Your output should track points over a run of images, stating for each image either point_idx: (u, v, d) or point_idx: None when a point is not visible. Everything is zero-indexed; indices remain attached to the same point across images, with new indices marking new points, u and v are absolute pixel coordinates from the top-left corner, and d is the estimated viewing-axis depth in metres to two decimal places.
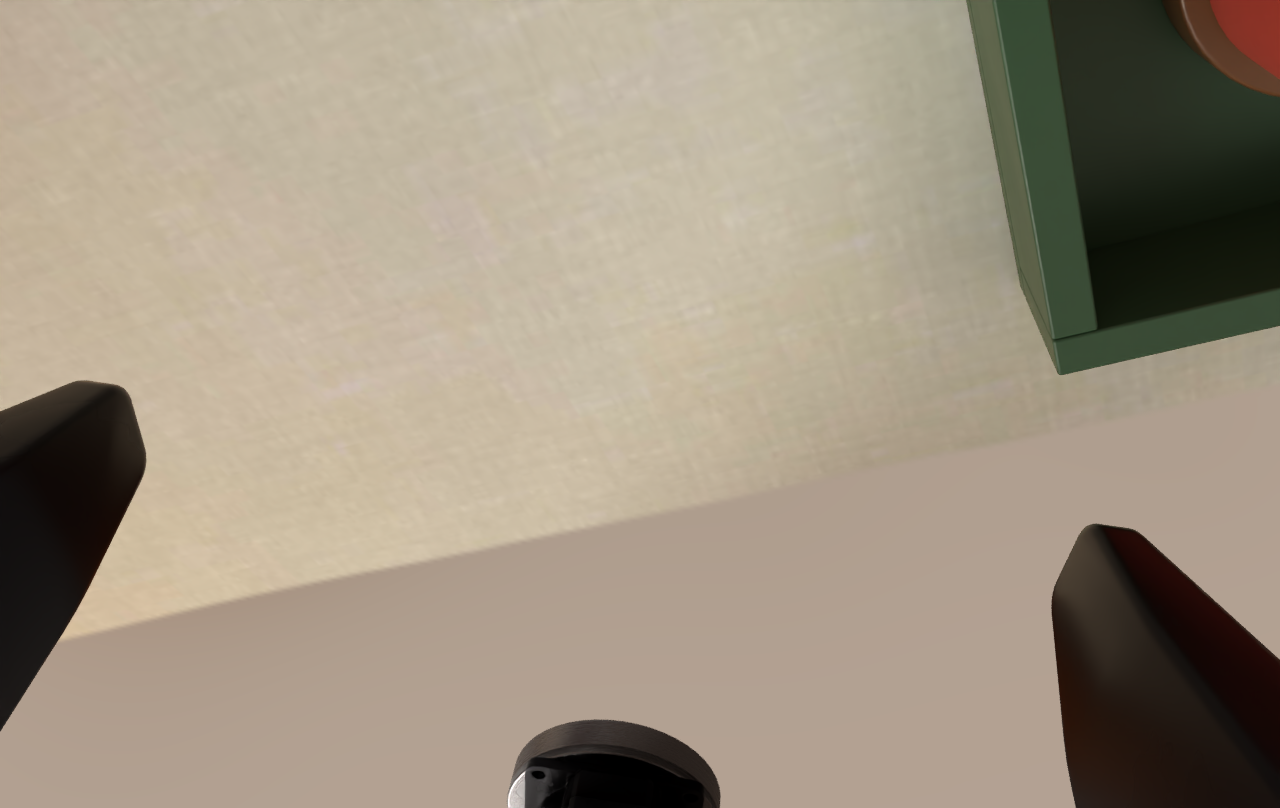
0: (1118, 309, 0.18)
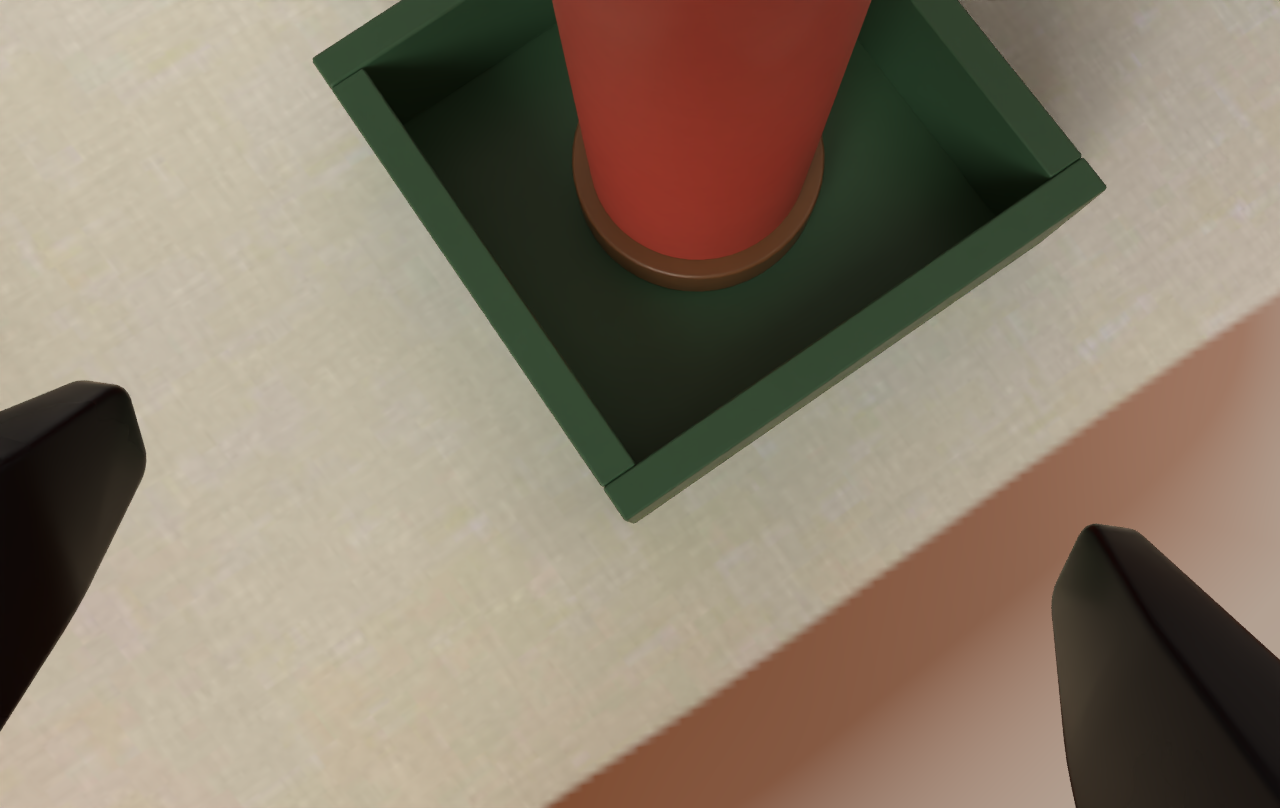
0: None
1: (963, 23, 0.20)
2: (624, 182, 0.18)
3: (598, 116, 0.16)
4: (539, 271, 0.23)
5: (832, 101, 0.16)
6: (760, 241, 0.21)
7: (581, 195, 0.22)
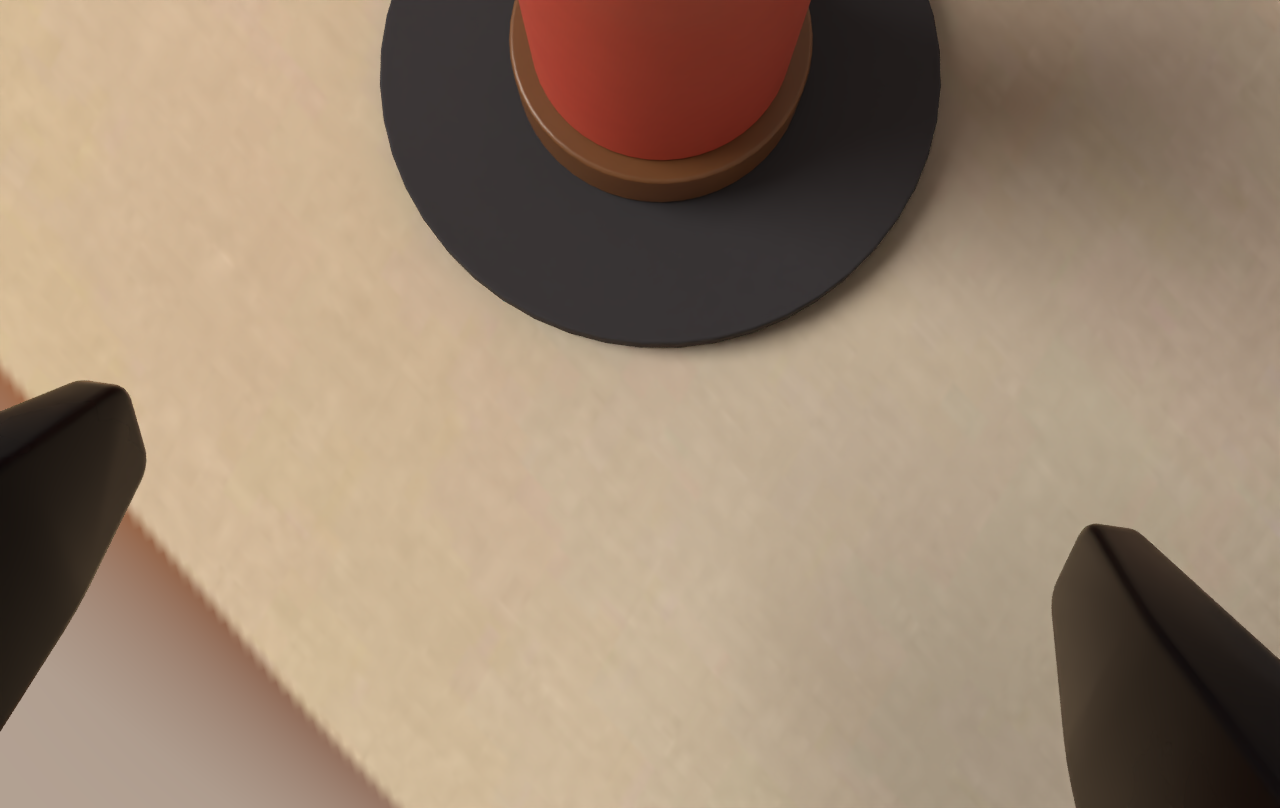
0: None
1: None
2: (565, 44, 0.14)
3: None
4: None
5: None
6: (733, 140, 0.18)
7: (519, 79, 0.18)
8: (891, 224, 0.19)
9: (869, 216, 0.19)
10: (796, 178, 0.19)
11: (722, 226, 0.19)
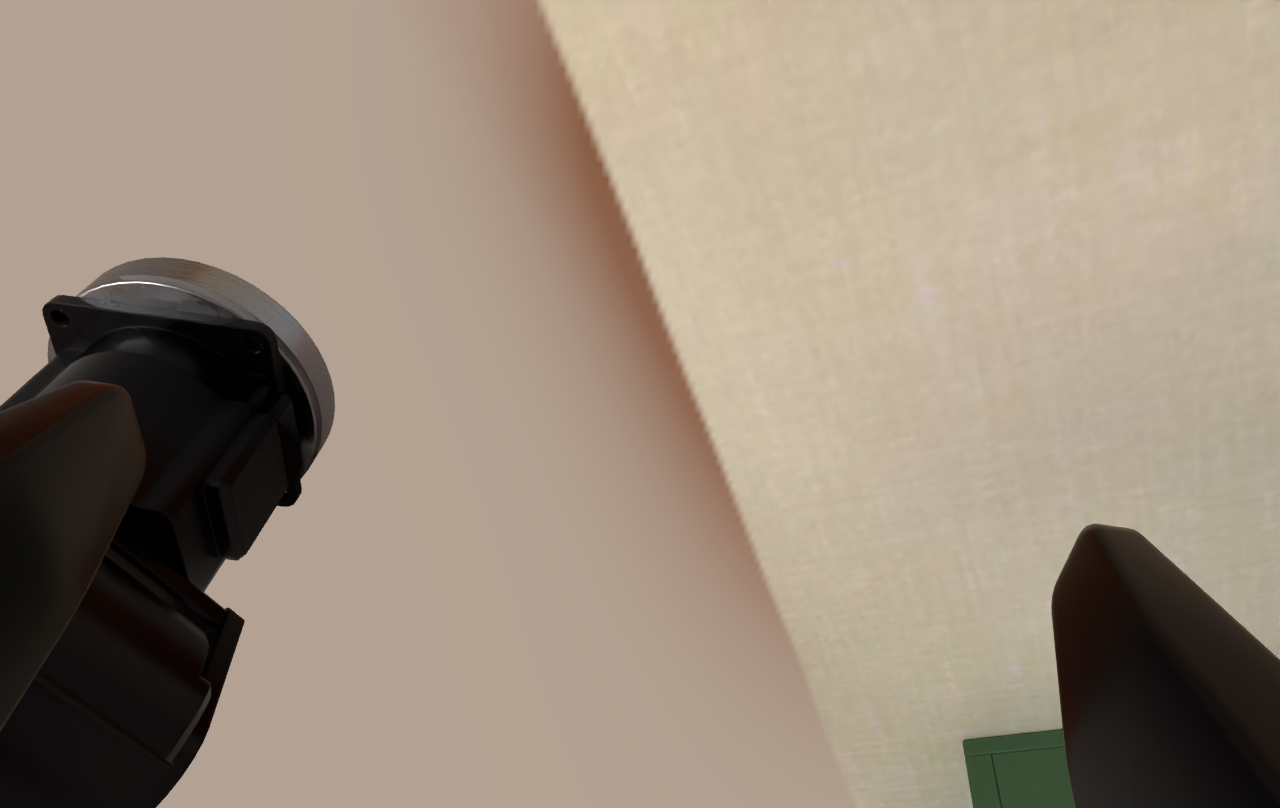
0: None
1: None
2: None
3: None
4: None
5: None
6: None
7: None
8: None
9: None
10: None
11: None
